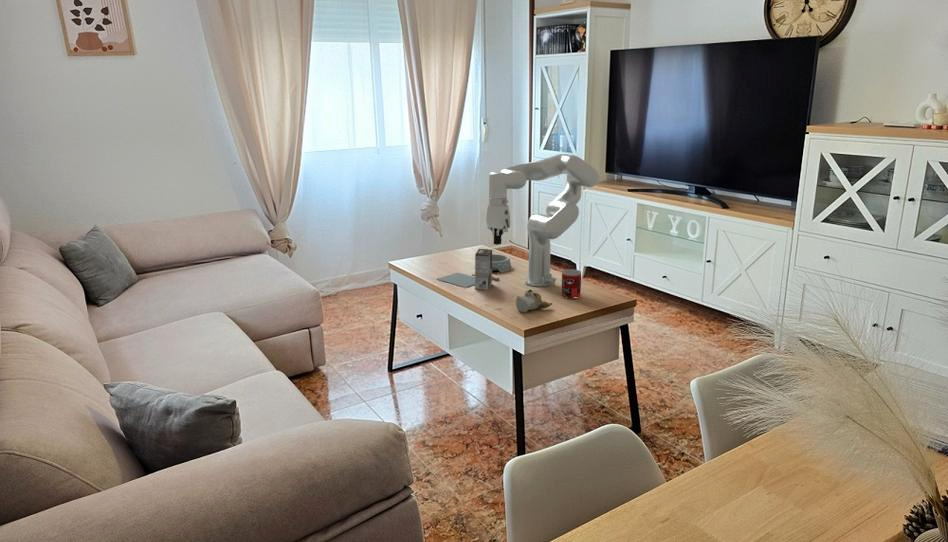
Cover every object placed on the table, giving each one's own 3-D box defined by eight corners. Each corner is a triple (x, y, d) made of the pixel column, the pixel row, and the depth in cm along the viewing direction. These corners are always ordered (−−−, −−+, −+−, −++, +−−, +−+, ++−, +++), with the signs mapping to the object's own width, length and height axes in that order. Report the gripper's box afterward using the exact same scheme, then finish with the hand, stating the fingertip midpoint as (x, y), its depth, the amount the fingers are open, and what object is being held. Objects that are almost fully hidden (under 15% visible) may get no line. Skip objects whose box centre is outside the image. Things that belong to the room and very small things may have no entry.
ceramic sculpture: (508, 288, 246) (536, 283, 255) (507, 309, 248) (534, 303, 257) (526, 295, 238) (554, 290, 247) (525, 317, 240) (553, 310, 249)
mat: (486, 280, 285) (486, 280, 285) (465, 287, 276) (465, 287, 276) (458, 273, 298) (458, 272, 298) (436, 279, 289) (436, 278, 289)
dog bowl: (475, 263, 315) (475, 253, 314) (511, 263, 315) (511, 253, 313) (474, 273, 299) (473, 262, 298) (512, 273, 298) (512, 262, 297)
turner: (501, 279, 287) (501, 276, 287) (494, 281, 284) (494, 279, 284) (478, 273, 297) (478, 271, 297) (471, 275, 294) (471, 273, 294)
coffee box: (478, 282, 282) (478, 248, 278) (492, 283, 281) (493, 249, 276) (474, 288, 274) (474, 253, 269) (488, 289, 273) (489, 254, 268)
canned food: (558, 295, 265) (558, 270, 262) (574, 292, 268) (575, 268, 265) (567, 300, 258) (568, 275, 255) (583, 298, 261) (584, 273, 258)
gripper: (517, 202, 258) (516, 245, 263) (491, 198, 268) (490, 239, 273) (505, 204, 253) (504, 248, 258) (478, 200, 263) (478, 242, 268)
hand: (497, 243), depth 265 cm, fingers closed
